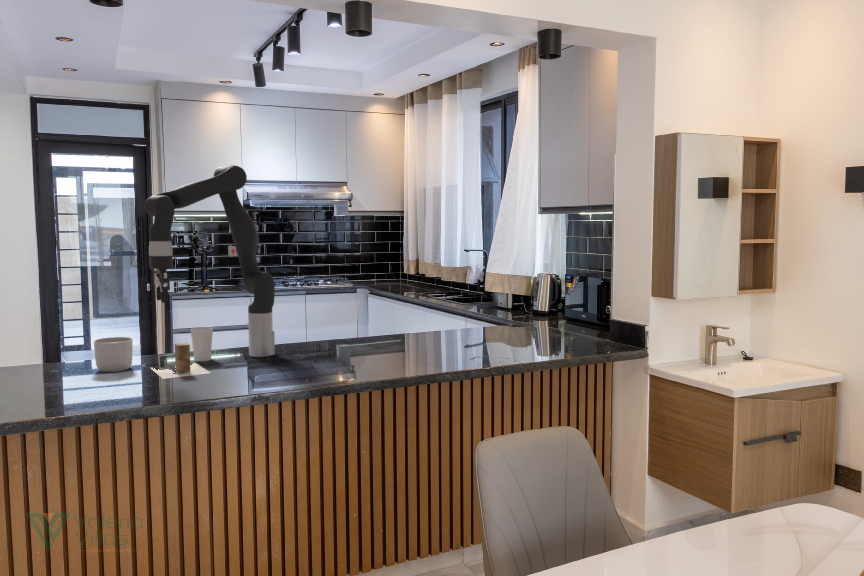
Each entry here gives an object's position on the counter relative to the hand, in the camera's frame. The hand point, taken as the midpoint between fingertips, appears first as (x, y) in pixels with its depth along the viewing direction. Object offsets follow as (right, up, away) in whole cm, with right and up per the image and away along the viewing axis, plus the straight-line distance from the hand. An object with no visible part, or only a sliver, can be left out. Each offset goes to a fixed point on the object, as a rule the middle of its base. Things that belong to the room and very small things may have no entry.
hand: (162, 301), depth 230 cm
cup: (+5, -23, +25) cm, 35 cm away
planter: (-20, -25, +7) cm, 32 cm away
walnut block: (+6, -25, +3) cm, 26 cm away
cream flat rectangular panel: (+4, -25, +6) cm, 26 cm away
